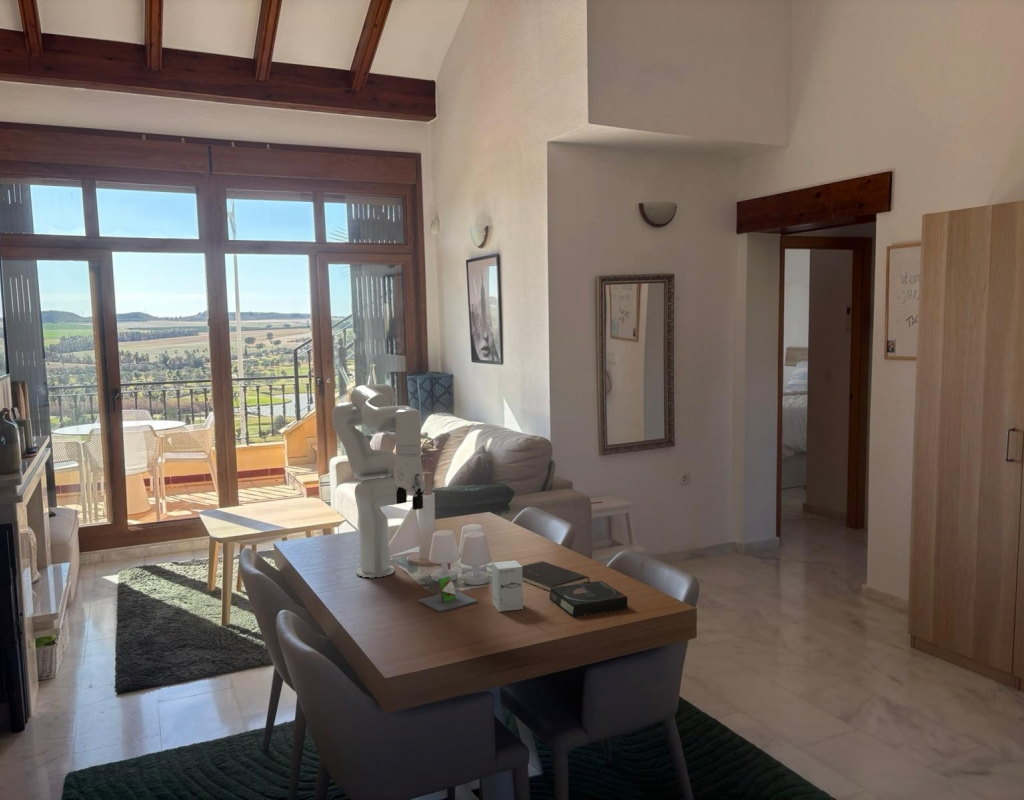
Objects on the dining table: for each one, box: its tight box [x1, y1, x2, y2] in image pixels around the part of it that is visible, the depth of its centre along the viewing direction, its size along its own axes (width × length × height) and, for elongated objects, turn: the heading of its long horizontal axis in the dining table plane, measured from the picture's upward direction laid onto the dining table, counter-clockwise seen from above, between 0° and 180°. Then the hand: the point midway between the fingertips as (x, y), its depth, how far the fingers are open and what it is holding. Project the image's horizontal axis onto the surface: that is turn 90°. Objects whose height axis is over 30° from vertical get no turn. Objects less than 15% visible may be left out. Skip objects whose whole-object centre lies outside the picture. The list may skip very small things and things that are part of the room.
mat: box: [417, 590, 478, 613], centre depth 235 cm, size 12×13×1 cm
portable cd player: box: [548, 580, 629, 618], centre depth 230 cm, size 16×17×4 cm
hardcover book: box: [521, 560, 590, 592], centre depth 256 cm, size 16×23×2 cm
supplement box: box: [491, 560, 524, 613], centre depth 229 cm, size 7×7×13 cm
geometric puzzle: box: [434, 576, 460, 602], centre depth 235 cm, size 7×7×8 cm
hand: (409, 506), depth 240 cm, fingers open, 9 cm apart
